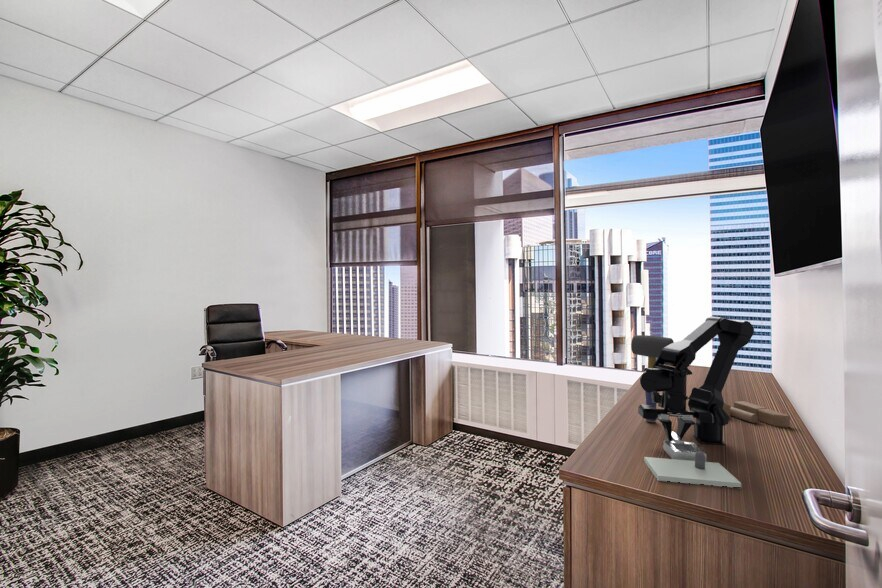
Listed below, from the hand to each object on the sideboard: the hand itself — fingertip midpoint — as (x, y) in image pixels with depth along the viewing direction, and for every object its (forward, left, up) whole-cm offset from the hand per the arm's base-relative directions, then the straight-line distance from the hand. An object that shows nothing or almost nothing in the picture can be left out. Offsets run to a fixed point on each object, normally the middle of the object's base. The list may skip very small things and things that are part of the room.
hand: (673, 442), depth 120 cm
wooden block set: (-33, -30, -2) cm, 45 cm away
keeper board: (+3, +19, -1) cm, 19 cm away
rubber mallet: (0, -21, -1) cm, 22 cm away
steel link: (0, +4, -1) cm, 4 cm away
